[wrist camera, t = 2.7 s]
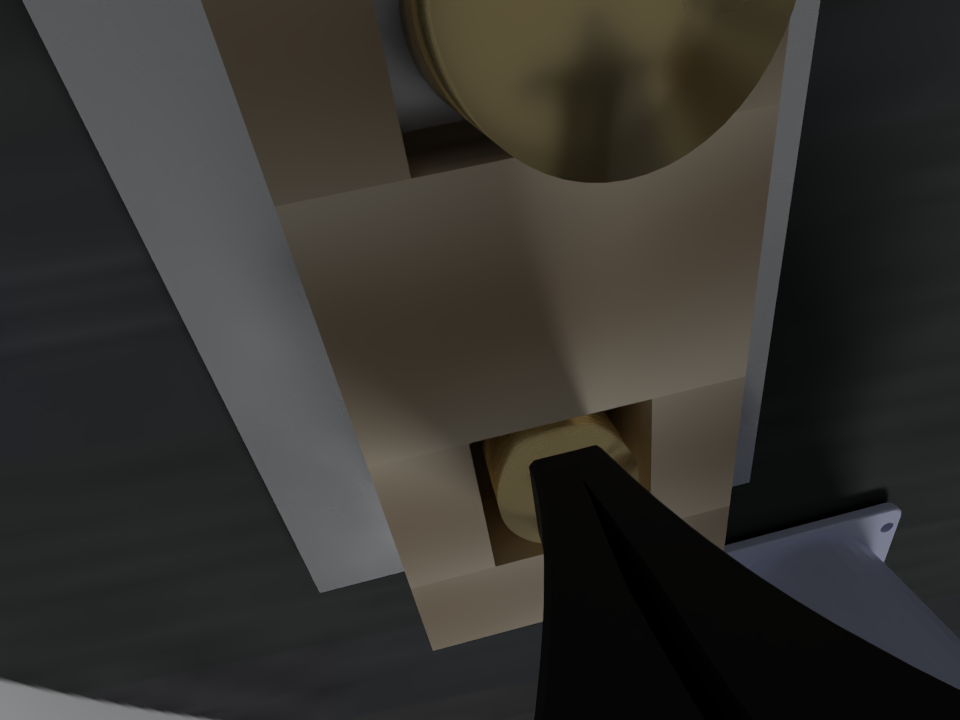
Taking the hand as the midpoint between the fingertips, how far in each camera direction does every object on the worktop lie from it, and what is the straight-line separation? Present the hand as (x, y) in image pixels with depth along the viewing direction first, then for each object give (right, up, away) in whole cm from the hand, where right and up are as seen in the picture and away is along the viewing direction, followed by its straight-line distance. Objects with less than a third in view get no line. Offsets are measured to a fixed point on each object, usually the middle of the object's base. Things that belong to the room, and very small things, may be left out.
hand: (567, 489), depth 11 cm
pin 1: (-1, +7, -4) cm, 8 cm away
